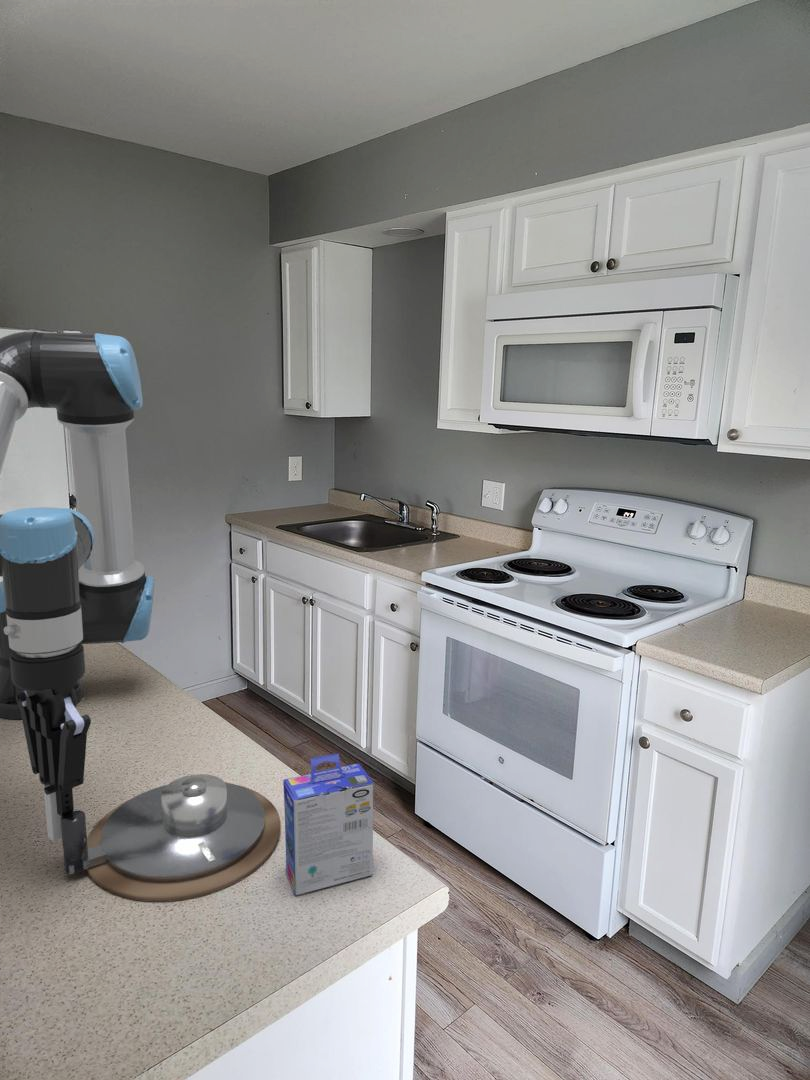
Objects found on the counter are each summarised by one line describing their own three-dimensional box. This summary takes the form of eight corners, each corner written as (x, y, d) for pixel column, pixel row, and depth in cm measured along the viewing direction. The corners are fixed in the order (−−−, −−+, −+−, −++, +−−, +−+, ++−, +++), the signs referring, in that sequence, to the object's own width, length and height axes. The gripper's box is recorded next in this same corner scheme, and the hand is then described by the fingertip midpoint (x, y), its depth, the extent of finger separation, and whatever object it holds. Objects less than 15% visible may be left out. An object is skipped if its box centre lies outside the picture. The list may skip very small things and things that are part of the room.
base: (66, 820, 96) (65, 815, 96) (238, 770, 110) (238, 765, 110) (111, 932, 77) (110, 925, 77) (313, 854, 91) (313, 848, 91)
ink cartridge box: (359, 849, 92) (360, 744, 89) (375, 876, 87) (377, 765, 84) (282, 868, 88) (281, 759, 85) (295, 897, 83) (294, 782, 80)
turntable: (48, 827, 93) (44, 781, 92) (229, 773, 107) (228, 732, 106) (84, 921, 77) (80, 867, 76) (291, 843, 91) (291, 796, 90)
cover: (154, 813, 95) (152, 778, 94) (214, 795, 99) (212, 761, 98) (174, 845, 88) (172, 808, 87) (236, 824, 93) (235, 788, 92)
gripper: (-14, 641, 83) (4, 827, 88) (41, 670, 75) (57, 872, 80) (51, 625, 89) (65, 801, 94) (109, 651, 81) (120, 841, 86)
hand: (61, 833), depth 87 cm, fingers closed
